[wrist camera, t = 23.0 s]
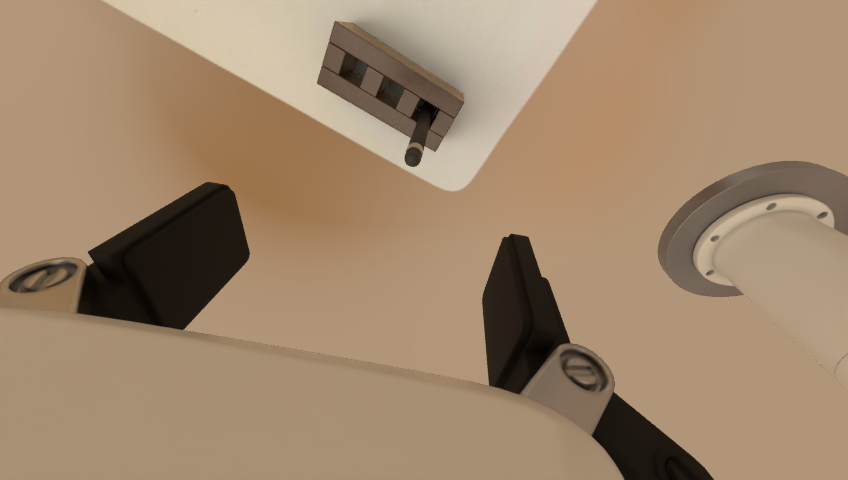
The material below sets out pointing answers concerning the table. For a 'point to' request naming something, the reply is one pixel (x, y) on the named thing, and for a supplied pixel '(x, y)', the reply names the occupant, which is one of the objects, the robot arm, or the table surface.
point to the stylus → (419, 135)
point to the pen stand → (386, 83)
